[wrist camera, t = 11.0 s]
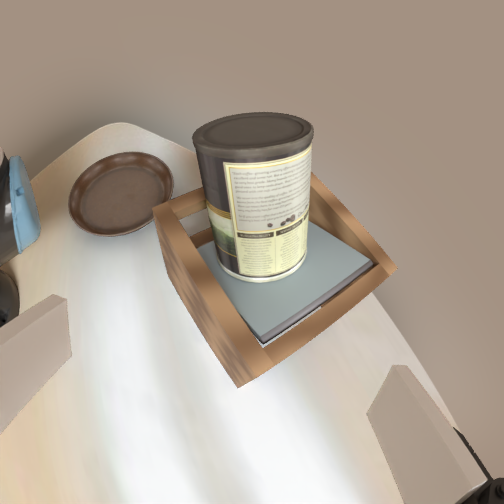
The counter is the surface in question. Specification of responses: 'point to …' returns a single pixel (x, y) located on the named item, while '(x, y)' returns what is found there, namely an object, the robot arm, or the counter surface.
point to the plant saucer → (120, 193)
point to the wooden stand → (220, 307)
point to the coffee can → (257, 191)
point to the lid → (291, 284)
